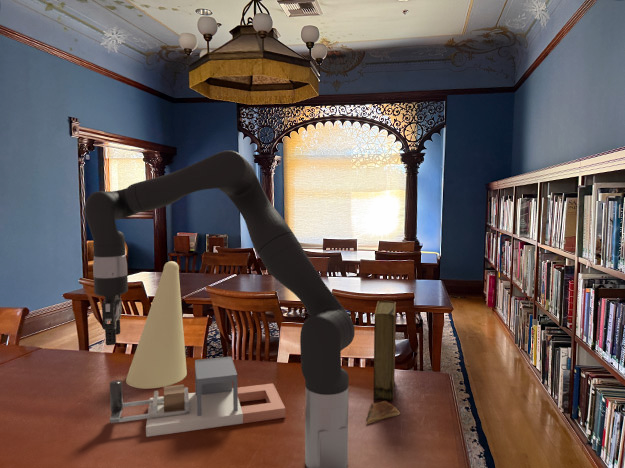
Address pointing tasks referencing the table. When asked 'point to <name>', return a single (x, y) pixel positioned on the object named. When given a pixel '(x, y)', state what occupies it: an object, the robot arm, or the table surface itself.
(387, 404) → the shard
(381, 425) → the table surface
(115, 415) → the sled
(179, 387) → the block
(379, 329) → the book
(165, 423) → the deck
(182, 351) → the cone light
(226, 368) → the tunnel
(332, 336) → the robot arm
